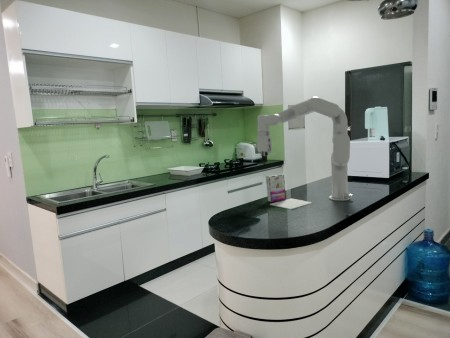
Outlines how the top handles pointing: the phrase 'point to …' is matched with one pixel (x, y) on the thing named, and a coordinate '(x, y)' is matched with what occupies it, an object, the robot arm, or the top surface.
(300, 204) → the mat
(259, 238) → the top surface
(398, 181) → the top surface
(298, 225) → the top surface
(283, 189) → the candy bar box
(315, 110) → the robot arm
